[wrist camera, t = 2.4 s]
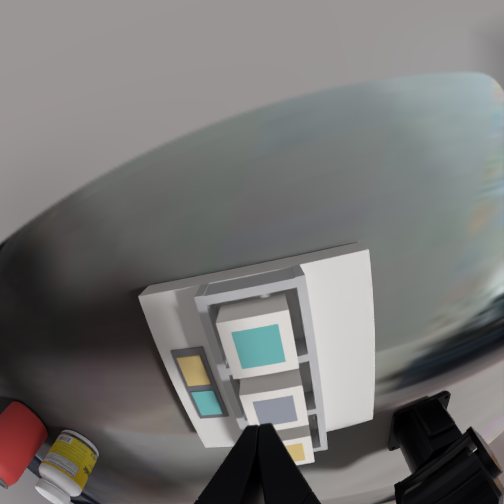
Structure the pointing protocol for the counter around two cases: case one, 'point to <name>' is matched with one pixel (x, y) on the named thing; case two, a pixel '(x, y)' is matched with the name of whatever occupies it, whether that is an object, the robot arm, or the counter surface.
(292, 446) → the key
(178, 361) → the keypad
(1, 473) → the beer can
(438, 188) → the counter surface
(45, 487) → the supplement bottle
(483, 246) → the counter surface
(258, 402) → the key mid
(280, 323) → the key
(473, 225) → the counter surface
